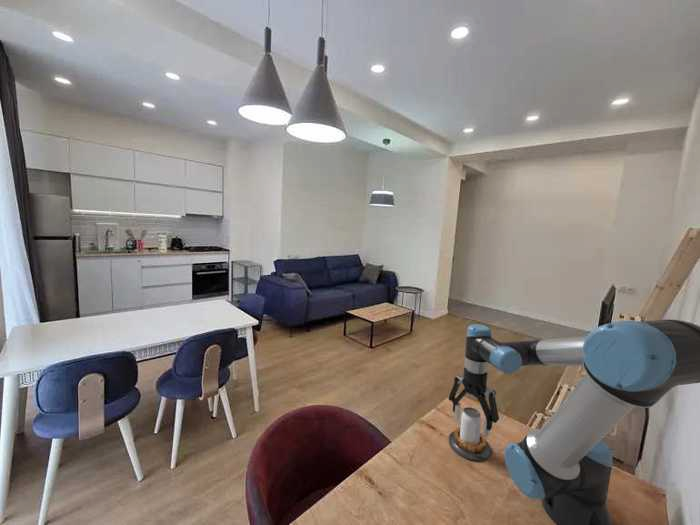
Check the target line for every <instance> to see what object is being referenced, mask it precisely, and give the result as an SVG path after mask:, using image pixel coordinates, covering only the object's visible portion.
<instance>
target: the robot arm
mask: <svg viewBox="0 0 700 525" xmlns="http://www.w3.org/2000/svg"><path fill="white" fill-rule="evenodd" d="M465 338H466V341H465V355H464V356H465V357H464V364H463V367H464V368H463V377H461V376H460V375H457V376H456V377H454V380H453V381H454V382H453V383H454V384H453V386H452V388H451V391H450V393H449V396H448V398H447V399H448V400H449V401H451V402H452V404H453V405H452V412H454V419H453V422H454V423H456V424H457V423H458V422H460V421H461V420H460V419H461V408H462V403H461V402H460V401H461V400H462V399H463V398H464V397H465V395H467V394H468V395H471V396H473V397H475V398H476V399H477V402H479V404H480V407H481V409H482V412H483V414H484V417H485V419H484V421H483V429H482V430H483V431H482V435H483V438H484V439H486V438H488V437H489V434H490V433H489V432H490V431H491V430H492V429H493V423H494V424H496V423H497V422H498V421H499V420H500V416H499V411H498V407H497V399H496V395H497V392H496V390H491V389H489V388H488V386H487V381H488V370H489V364H490V365H491V366H492V367H493V368H495V369H496V370H499V371H500V372H502V373H504V374H507V375H508V374H509V375H512V374H515V372H518V371H519V370H520V368H521V367H528V366H529V367H530V366H558V367H559V366H561V367H562V366H563V367H583V370H584V372H585V374H584V375H583V376H582V378H581V379H580V380H579V381H578V383H577V384H576V385H575V386H574V388H573V389H572V390H571V391H570V392H569V394H568V395H567V396H566V398H564V400H563V402H562V403H561V404H560V405H559V407H558V408H557V409H556V410H555V412H554V413H553V414H552V415H551V416H550V418H549V419H548V420H547V421H546V423H545V424H544V425H543V427H542V428H533V429H531V430H530V431H528V433H527V434H526V435H525V436H524V438H523V439H522V440H521V441H519V442H517V443H516V442H511V443H510V444H508V445H506V446H505V449H504V461H505V465H506V468H507V471H508V473H509V476H510V478H511V480H512V481H513V483H514V485H515V486H516V487H517V488H518V490H519V491H520V492H521V493H522V494H523V495H525V496H526V497H527V498H529V499H531V500H539V499H540V500H541V504H542V506H543V508H544V511H545V512H546V514H547V515H548V516H549V517H550V519H551V520H552V521H553V522H554V523H555V524H556V523H557V524H558V525H613V523H612V520H611V515H610V511H609V507H608V504H607V498H608V493H609V487H610V481H611V475H612V468H613V466H614V463H613V456H614V455H613V452H612V450H611V449H610V447H609V446H608V445H607V444H606V443H605V442H604V441H603V439H604V438H605V437H606V436H607V435H608V434H609V433H610V432H611V431H612V430H613V429H614V428H615V427H616V426H617V425H618V424H619V423H621V421H622V420H623V419H624V418H625V417H627V415H629V414H630V412H631V411H632V410H633V409H634V408H635V407H636V408H640V409H641V408H642V409H648V408H651V407H653V406H654V405H656V404H657V403H658V402H659V401H660V400H661V399H662V398H663V397H664V396H665V395H667V393H669V391H671V390H672V389H673V388H675V387H677V386H685V385H691V384H700V325H698V324H695V323H692V322H688V321H685V320H678V319H659V320H658V319H655V320H641V321H640V320H639V321H636V320H619V321H614V322H611V323H610V322H609V323H604V324H603V325H600V326H597V327H596V328H594V329H592V331H590V332H589V333H588V334H587V336H574V337H560V338H547V339H533V340H521V341H519V340H517V341H505V342H503V341H499V340H497V339H495V338H493V337H492V330H491V328H490V327H489V326H486V325H483V324H477V323H475V324H473V323H472V324H470V325H469V326H467V330H466V336H465ZM461 384H462V385H463V386H464V387H463V389H462V390H461V392H460V393H459V394H458V395H457V392H458V391H459V388H460V387H461V386H460V385H461ZM485 393H486V394H485ZM456 395H457V396H456ZM487 397H488V401H487V399H486V398H487ZM557 524H556V525H557Z"/></svg>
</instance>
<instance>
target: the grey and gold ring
mask: <svg viewBox="0 0 700 525" xmlns="http://www.w3.org/2000/svg"><path fill="white" fill-rule="evenodd" d="M460 428H461V426H460V427H459V426H458V427H457V428H456V429H454V431H452V432H450V434H449V435H448V445H449V447H450V448H451V450H452V451H453V452H454V453H456V454H457V455H459V456H460V457H461V458H463V459H466V460H469V461H472V462H484V461H487V460H488V459H489V458H490V456H491V455H492V450H491V449H492V448H491V445H490V443H489V442H488V441H487V440H486V438H485V439H484V438H483V433H482V432H480V439H479V445H471V444H467V443H465V442H464V441H462V440H461V439H460Z"/></svg>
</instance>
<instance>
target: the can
mask: <svg viewBox="0 0 700 525" xmlns="http://www.w3.org/2000/svg"><path fill="white" fill-rule="evenodd" d="M481 415H482V414H481V412H480V411H479V410H478V409H476V408H473V407H470V406H469V407H468V406H467V407H465V408H463V411H462V412H461V416H460V419H461V420H460V427H461V428H460V439H461V440H462V441H464V442H465V443H467V444H471V445H479V439H480V433H481V428H482V417H481Z"/></svg>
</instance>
